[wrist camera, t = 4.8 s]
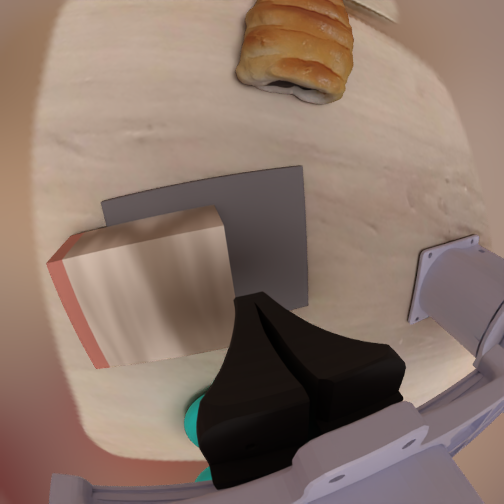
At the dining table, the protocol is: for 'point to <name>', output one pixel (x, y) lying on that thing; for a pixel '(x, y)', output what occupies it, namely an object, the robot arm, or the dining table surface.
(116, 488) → the robot arm
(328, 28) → the pastry
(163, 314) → the block
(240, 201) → the mat
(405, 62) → the dining table surface
